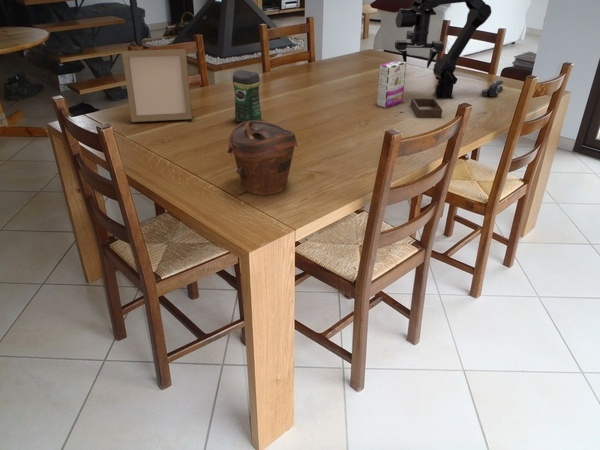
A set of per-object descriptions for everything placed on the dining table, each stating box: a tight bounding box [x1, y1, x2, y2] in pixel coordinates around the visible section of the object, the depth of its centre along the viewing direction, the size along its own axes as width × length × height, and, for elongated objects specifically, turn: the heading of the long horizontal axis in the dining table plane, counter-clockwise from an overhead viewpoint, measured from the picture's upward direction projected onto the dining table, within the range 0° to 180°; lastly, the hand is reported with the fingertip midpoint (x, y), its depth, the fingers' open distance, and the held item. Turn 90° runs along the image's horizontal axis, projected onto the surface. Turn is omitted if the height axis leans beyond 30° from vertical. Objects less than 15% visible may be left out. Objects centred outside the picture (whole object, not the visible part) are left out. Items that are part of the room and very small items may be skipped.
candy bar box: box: [376, 60, 407, 109], centre depth 202 cm, size 11×5×16 cm, turn 132°
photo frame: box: [121, 48, 193, 123], centre depth 185 cm, size 15×22×25 cm
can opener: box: [481, 80, 504, 97], centre depth 218 cm, size 18×7×6 cm, turn 142°
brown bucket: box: [227, 120, 299, 196], centre depth 139 cm, size 18×20×18 cm
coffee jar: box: [232, 69, 262, 124], centre depth 183 cm, size 10×8×19 cm
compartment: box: [410, 97, 443, 119], centre depth 197 cm, size 9×14×3 cm, turn 0°
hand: (416, 67), depth 205 cm, fingers open, 9 cm apart
